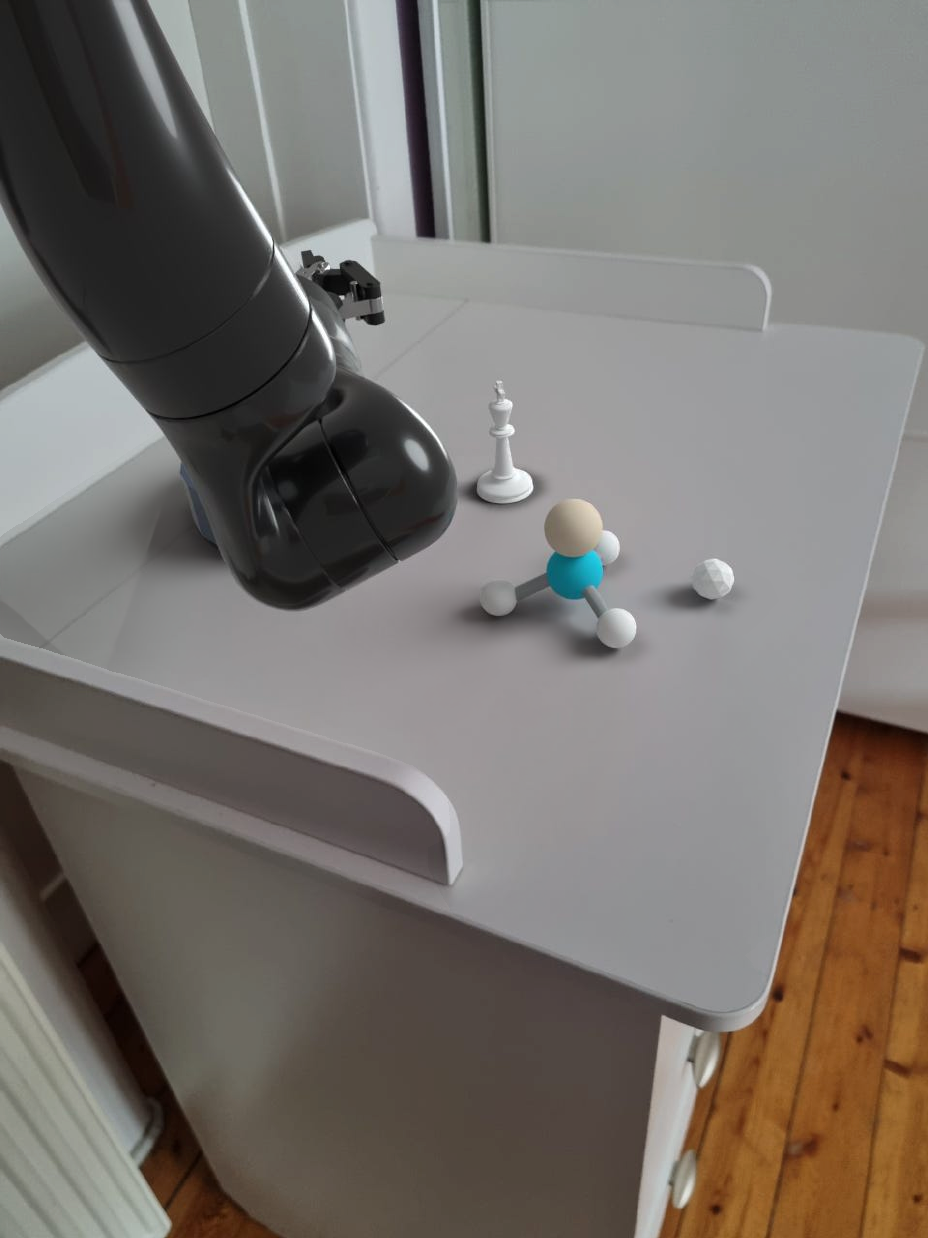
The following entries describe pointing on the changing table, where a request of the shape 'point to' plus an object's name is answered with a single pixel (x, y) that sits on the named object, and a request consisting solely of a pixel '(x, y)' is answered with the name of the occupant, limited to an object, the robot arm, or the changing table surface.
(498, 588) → the molecule model
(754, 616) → the changing table surface
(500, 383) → the chess piece
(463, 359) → the changing table surface
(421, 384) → the changing table surface
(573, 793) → the changing table surface
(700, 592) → the polyhedron
